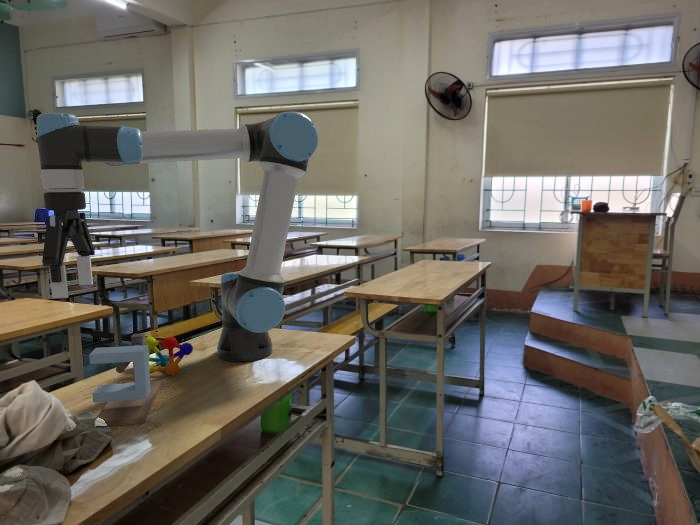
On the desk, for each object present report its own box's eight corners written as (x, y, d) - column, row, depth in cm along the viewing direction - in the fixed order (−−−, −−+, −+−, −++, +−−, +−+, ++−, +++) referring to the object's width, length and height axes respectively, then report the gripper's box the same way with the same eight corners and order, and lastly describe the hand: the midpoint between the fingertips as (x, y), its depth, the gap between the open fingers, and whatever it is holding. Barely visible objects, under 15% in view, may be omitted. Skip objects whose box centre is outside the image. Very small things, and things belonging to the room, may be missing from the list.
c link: (150, 391, 103) (147, 345, 102) (146, 399, 99) (143, 351, 98) (99, 394, 101) (95, 347, 100) (93, 402, 97) (89, 354, 96)
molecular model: (162, 375, 131) (201, 346, 127) (146, 398, 122) (188, 367, 118) (131, 346, 129) (171, 315, 125) (112, 367, 119) (154, 334, 115)
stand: (162, 385, 115) (158, 331, 113) (143, 423, 96) (139, 359, 94) (121, 388, 113) (117, 333, 111) (94, 427, 95) (89, 362, 93)
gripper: (69, 190, 114) (78, 280, 117) (13, 191, 89) (26, 305, 93) (104, 190, 115) (111, 279, 118) (57, 191, 90) (68, 303, 94)
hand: (74, 291), depth 105 cm, fingers open, 13 cm apart
